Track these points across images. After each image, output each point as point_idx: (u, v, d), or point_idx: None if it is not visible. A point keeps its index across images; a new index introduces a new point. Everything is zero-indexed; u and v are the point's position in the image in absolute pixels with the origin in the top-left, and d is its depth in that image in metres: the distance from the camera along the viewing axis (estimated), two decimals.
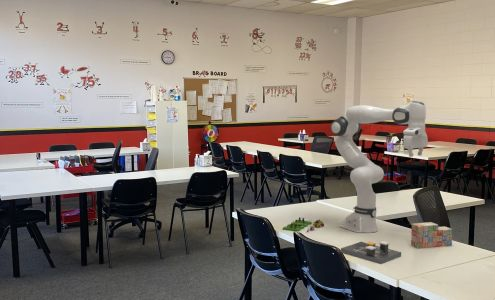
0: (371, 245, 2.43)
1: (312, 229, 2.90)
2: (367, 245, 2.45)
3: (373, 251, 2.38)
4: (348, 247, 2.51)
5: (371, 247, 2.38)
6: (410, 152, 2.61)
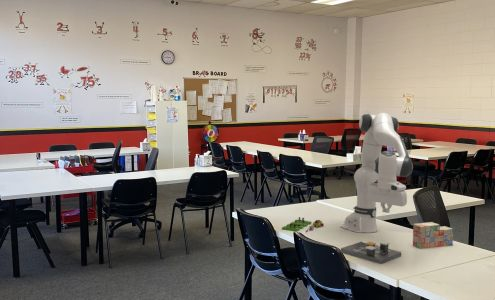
0: (371, 245, 2.43)
1: (311, 229, 2.90)
2: (367, 245, 2.45)
3: (373, 251, 2.38)
4: (348, 247, 2.51)
5: (371, 247, 2.38)
6: (389, 207, 2.36)
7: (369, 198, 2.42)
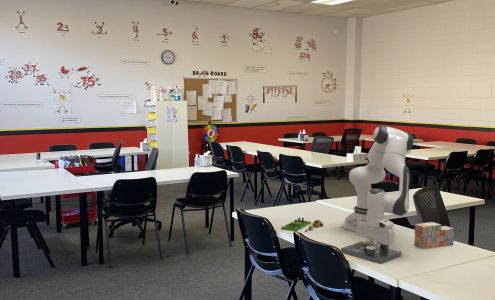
0: (369, 244, 2.44)
1: (310, 229, 2.90)
2: (365, 244, 2.46)
3: (373, 251, 2.38)
4: (348, 247, 2.51)
5: (371, 247, 2.38)
6: (378, 243, 2.43)
7: (358, 233, 2.49)
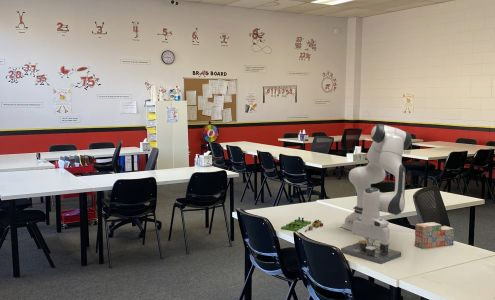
0: (364, 243, 2.46)
1: (310, 229, 2.90)
2: (360, 243, 2.48)
3: (373, 251, 2.38)
4: (348, 247, 2.51)
5: (371, 247, 2.38)
6: (373, 242, 2.45)
7: (354, 232, 2.51)
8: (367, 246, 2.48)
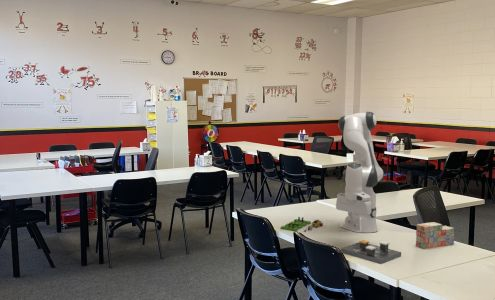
0: (364, 243, 2.46)
1: (310, 229, 2.91)
2: (360, 243, 2.48)
3: (373, 251, 2.38)
4: (348, 247, 2.51)
5: (371, 247, 2.38)
6: (356, 216, 2.51)
7: (337, 207, 2.58)
8: (367, 246, 2.48)
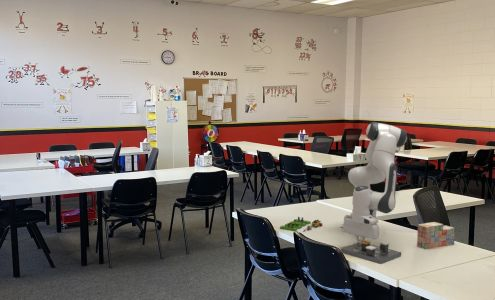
0: (366, 244, 2.46)
1: (309, 229, 2.91)
2: (362, 244, 2.48)
3: (373, 251, 2.38)
4: (348, 247, 2.51)
5: (371, 247, 2.38)
6: (363, 239, 2.49)
7: (344, 229, 2.55)
8: None
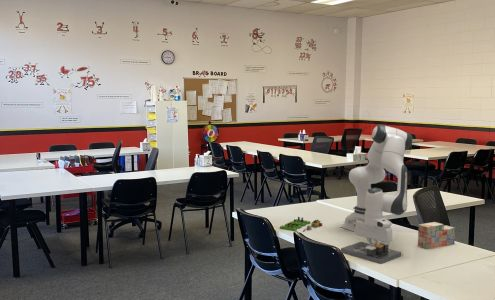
0: (379, 247, 2.40)
1: (309, 229, 2.91)
2: None
3: (373, 251, 2.38)
4: (348, 247, 2.51)
5: (371, 247, 2.38)
6: (376, 243, 2.43)
7: (356, 232, 2.49)
8: (381, 250, 2.42)
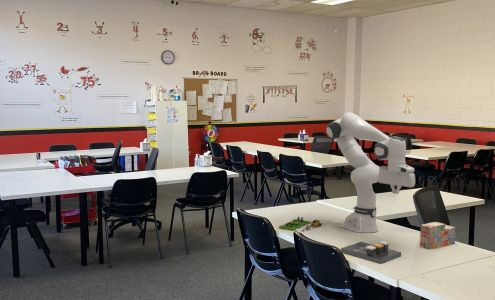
0: (379, 247, 2.40)
1: (308, 229, 2.91)
2: None
3: (373, 251, 2.38)
4: (348, 247, 2.51)
5: (371, 247, 2.38)
6: (399, 189, 2.54)
7: (379, 180, 2.60)
8: (381, 250, 2.42)
